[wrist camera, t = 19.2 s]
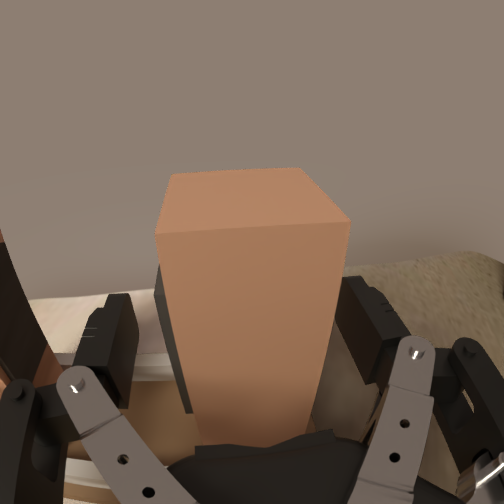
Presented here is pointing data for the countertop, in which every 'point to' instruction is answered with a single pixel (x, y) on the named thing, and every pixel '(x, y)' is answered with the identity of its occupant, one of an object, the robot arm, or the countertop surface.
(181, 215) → the block
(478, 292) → the countertop surface
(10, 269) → the rail base
